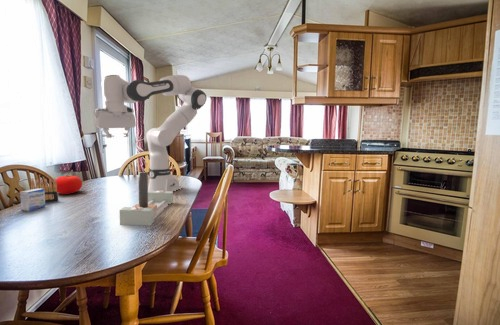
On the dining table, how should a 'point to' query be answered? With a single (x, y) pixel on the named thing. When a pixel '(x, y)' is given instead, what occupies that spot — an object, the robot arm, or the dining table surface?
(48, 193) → the ammunition clip
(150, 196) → the track
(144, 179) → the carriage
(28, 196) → the medicine box
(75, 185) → the tomato
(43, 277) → the dining table surface
